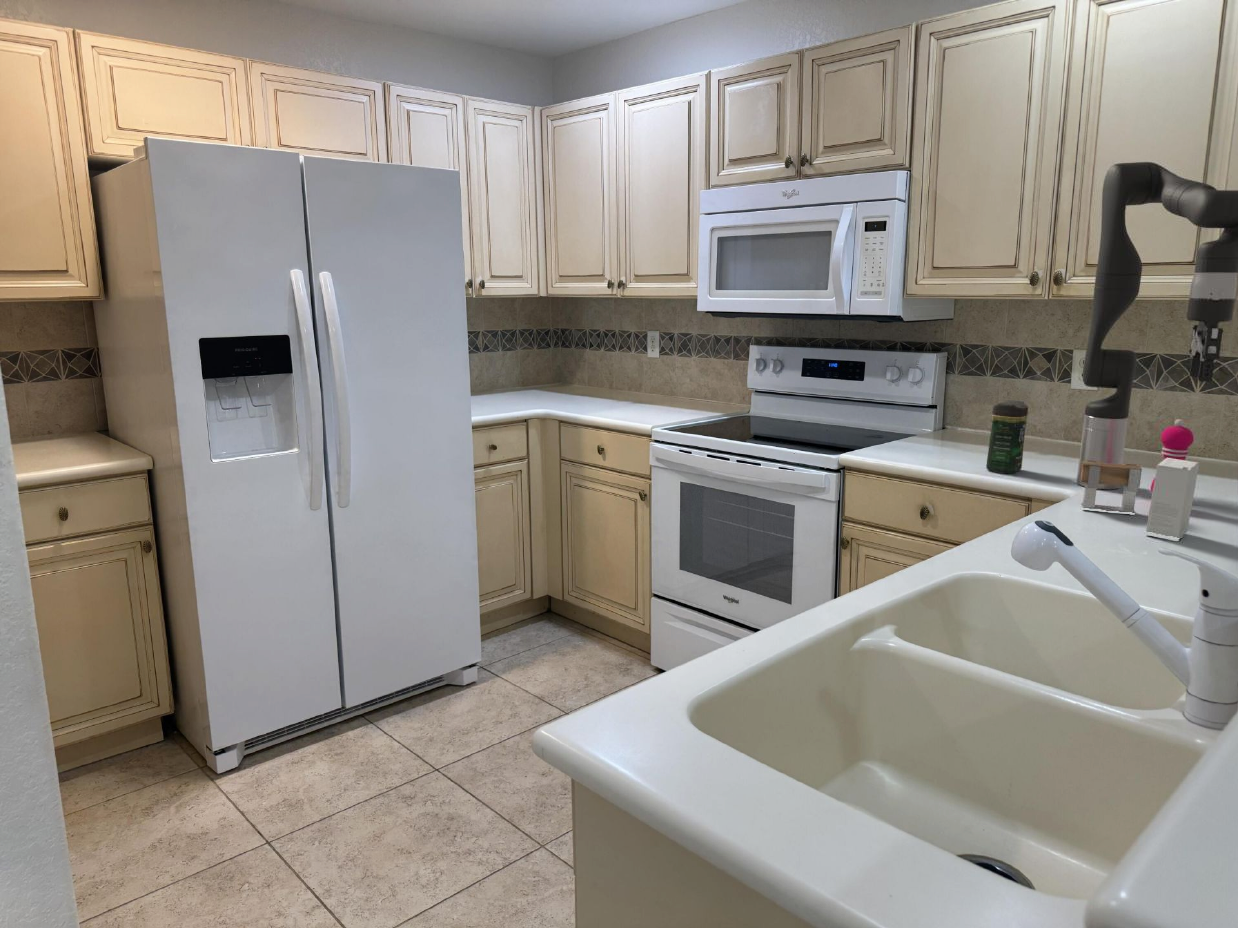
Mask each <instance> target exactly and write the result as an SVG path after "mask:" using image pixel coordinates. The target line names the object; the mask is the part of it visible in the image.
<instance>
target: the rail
mask: <svg viewBox="0 0 1238 928" xmlns="http://www.w3.org/2000/svg"><path fill="white" fill-rule="evenodd" d="M1090 466H1100V467H1101V468H1100V476H1099V484H1107V485H1118V486H1119V487H1120V486H1121V487H1124V486H1127V485H1128V478H1129V470H1130V469H1138V470H1141V474H1140V481H1139V487H1140V485H1141V478H1142V469H1143V468H1142V467H1141V466H1140V465H1137V466H1136V465H1126V464H1123V463H1122V464H1110V463H1097V462H1084V461H1082V466H1081V474H1080V480H1081V482H1084V483H1088V476H1089V468H1090Z"/></svg>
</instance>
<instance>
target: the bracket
mask: <svg viewBox="0 0 1238 928" xmlns="http://www.w3.org/2000/svg"><path fill="white" fill-rule="evenodd" d="M1087 462H1097V463H1098V461H1089V460H1087ZM1125 465H1136V466H1138V465H1137V463H1128V462H1127V463H1125ZM1100 468H1101V467H1100V466H1090V468H1089V476H1088V483H1085V486H1084V489H1083V490H1084V492H1083V499H1082V503H1081V504H1080V506H1081V505H1082V507H1083V508H1089V509H1101V510H1106V511H1119V512H1132V513H1135V514H1136V511H1135V504H1136V499H1137V498H1136V497H1137V493H1139V488H1140V486H1139V481H1140V482H1141V479H1140V474H1141V475H1142V472H1141V470H1138V469H1130V470H1129V478H1128V485H1127V486H1123V493H1122V499H1121V506H1114V505H1113V506H1112V505H1102V504H1096V496H1097V490H1099V489H1098V484H1099V476H1100Z"/></svg>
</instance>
